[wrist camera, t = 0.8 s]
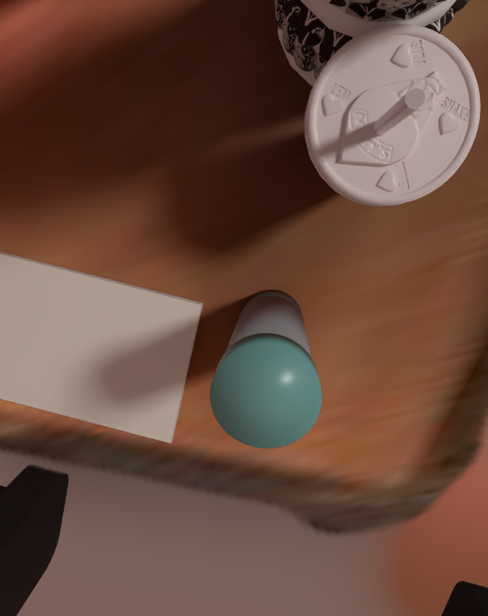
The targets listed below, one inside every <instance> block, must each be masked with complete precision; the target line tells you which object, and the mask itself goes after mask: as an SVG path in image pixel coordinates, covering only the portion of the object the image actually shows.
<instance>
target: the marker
mask: <svg viewBox="0 0 488 616" xmlns="http://www.w3.org/2000/svg"><path fill="white" fill-rule="evenodd" d="M210 401H211V406H212V410H213V413H214V415H215V417H216V419H217V421H218V423H219V424H220V425H221V427H222V428H223V429H224V430H225V431H226V432H227V433H228V434H229V435H230V436H232V437H233V438H234V439H236V440H238V441H239V442H242V443H244V444H246V445H249V446H252V447H258V448H277V447H282V446H285V445H288V444H291V443H293V442H295V441H296V440H298V439H300V438H301V437H302V436H304V435H305V434H306V433H307V432H308V431H309V430H310V429H311V427H312V426H313V425H314V423H315V421H316V420H317V418H318V415H319V413H320V409H321V403H322V391H321V386H320V382H319V377H318V373H317V369H316V366H315V364H314V362H313V360H312V358H311V353H310V349H309V344H308V340H307V335H306V331H305V326H304V322H303V317H302V313H301V310H300V307H299V305H298V304H297V302H296V301H295V300H294V299H293V298H292V297H291V296H290V295H288V294H286V293H284V292H282V291H279V290H264V291H260V292H258V293H256V294H254V295H253V296H251V297H250V298H249V299H248V300H247V301H246V303H245V304H244V306H243V308H242V310H241V313H240V316H239V318H238V321H237V324H236V326H235V329H234V332H233V334H232V337H231V340H230V342H229V345H228V348H227V350H226V352H225V353H224V355H223V356H222V358H221V360H220V362H219V364H218V367H217V369H216V372H215V374H214V377H213V380H212V383H211V389H210Z"/></svg>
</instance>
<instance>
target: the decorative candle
mask: <svg viewBox="0 0 488 616" xmlns="http://www.w3.org/2000/svg"><path fill="white" fill-rule="evenodd" d="M468 1H469V0H275V8H276V10H275V20H276V23H277V26H278V38H279V40H280V43H281V45H282V47H283V50H284V52H285V54H286V57H287V59H288V61H289V64H290V66H291V67H292V68H293V69H294V70H295V71H296V72H297V73H298V74H299V75H300V76H302V77H303V78H304V79H305V80H306V81H307V82H308V83H309V84H310V85H311V86H312V87H313V86H314V84H315V82H316V81H317V79H318V76H319V75H320V73H321V71H322V70H323V68H324V66H325V65H326V64H327V62H328V61H329V60H330V58H331V57H332V56H333V55H334V54H335V53H336V52H337V51H338V50H339V49H340V48H341V47H342V46H343V45H345V44H346V43H347V42H349V41H350V40H352V39H353V38H355V37H356V36H358V35H360V34H362V33H364V32H366V31H368V30H371V29H373V28H377V27H380V26H385V25H390V24H411V25H418V26H421V27H425V28H428V29H431V30H433V31H435V32H437V33H439V34H440V32H441V31H442V29H443V27H444V26H445V25H447V24H448V23H449V22H450V21H451V20H452V18H453V17H454V15H455V12H457V11H459V10H460V9H462V8H463V7H464V6H465V5H466V4H467V2H468Z"/></svg>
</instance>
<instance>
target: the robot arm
mask: <svg viewBox="0 0 488 616" xmlns="http://www.w3.org/2000/svg"><path fill="white" fill-rule="evenodd" d="M68 481H69V479H68V475H67V474H66V473H62V472H59V471H54V470H51V469H47V468H44V467H40V466H36V465H29V466H27V467H26V468H25V469H24V470H23V471H22V472H21V473H20V474H19V475H18V476H17V477H16V478H15V479H14V480H13V481H12V482H11V483H10V484H9V485H8V486H7V487H4V486H0V616H16V615H17V614H18V612H19V611H20V609H21V607H22V606H23V605H24V603H25V602H26V600H27V598H28V597H29V595H30V594H31V592H32V591H33V589H34V588H35V586H36V585H37V583H38V581H39V580H40V578H41V577H42V575H43V574H44V572H45V570H46V569H47V567H48V565H49V563H50V561H51V559H52V557H53V554H54V552H55V549H56V546H57V543H58V539H59V535H60V529H61V523H62V517H63V512H64V506H65V500H66V493H67V488H68ZM442 616H488V588H487V587H483V586H479V585H476V584H472V583H468V582H465V581H460V582H458V583H457V584H456V585H455V587H454V589H453V591H452V593H451V596H450V598H449V600H448V602H447V605H446V607H445V609H444V611H443V614H442Z"/></svg>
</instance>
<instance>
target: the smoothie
mask: <svg viewBox="0 0 488 616" xmlns="http://www.w3.org/2000/svg"><path fill="white" fill-rule="evenodd" d="M479 118H480V95H479V89H478V84H477V81H476V78H475V75H474V72H473V70H472V68H471V66H470V64H469V62H468V61H467V59H466V57H465V56H464V55H463V53H462V52H461V51H460V50H459V49H458V48H457V47H456V46H455V45H454V44H453V43H452V42H451V41H450V40H448V39H447V38H446V37H444V36H443V35H441V34H439V33H437V32H435V31H433V30H431V29H428V28H425V27H421V26H418V25H411V24H390V25H385V26H380V27H377V28H373V29H371V30H368V31H366V32H364V33H362V34H360V35H358V36H356V37H355V38H353V39H352V40H350V41H349V42H347V43H346V44H345V45H343V46H342V47H341V48H340V49H339V50H338V51H337V52H336V53H335V54H334V55H333V56H332V57H331V58H330V60H329V61H328V62H327V64H326V65H325V66H324V68H323V70H322V71H321V73H320V75H319V76H318V79H317V81H316V82H315V84H314V86H313V88H312V90H311V92H310V96H309V100H308V104H307V108H306V112H305V140H306V144H307V148H308V152H309V156H310V159H311V161H312V162H313V164H314V166H315V168H316V170H317V171H318V173H319V175H320V177H321V178H322V179H323V180H324V181H325V182H326V183H327V184H328V185H329V186H330V187H331V188H332V189H333V190H334V191H335V192H337V193H339V194H341V195H342V196H344V197H346V198H348V199H350V200H351V201H353V202H357V203H362V204H366V205H370V206H395V205H398V204H402V203H405V202H409V201H412V200H415V199H418V198H420V197H423V196H425V195H427V194H429V193H430V192H432V191H434V190H435V189H437V188H438V187H440V186H441V185H442V184H443V183H444V182H446V181H447V180H448V179H449V178H450V177H451V176H452V175H453V174H454V173H455V172H456V170H457V169H458V168H459V167H460V165H461V164H462V163H463V161H464V160H465V158H466V156H467V154H468V153H469V151H470V149H471V146H472V144H473V142H474V139H475V136H476V133H477V129H478V124H479Z"/></svg>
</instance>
